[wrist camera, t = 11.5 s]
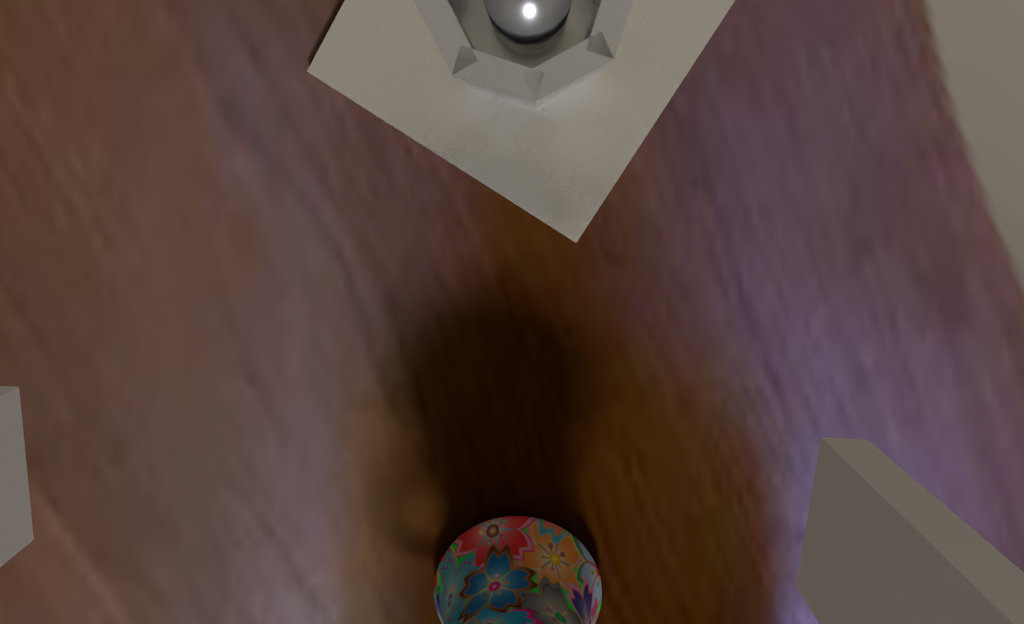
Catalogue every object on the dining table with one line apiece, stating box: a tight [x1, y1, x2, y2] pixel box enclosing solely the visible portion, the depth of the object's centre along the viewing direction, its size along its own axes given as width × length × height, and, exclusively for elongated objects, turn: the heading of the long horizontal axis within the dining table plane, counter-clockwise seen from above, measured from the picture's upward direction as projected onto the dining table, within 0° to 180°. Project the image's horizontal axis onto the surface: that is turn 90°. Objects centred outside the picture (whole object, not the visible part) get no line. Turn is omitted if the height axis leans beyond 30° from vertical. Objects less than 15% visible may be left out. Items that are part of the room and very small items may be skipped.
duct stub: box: [307, 0, 735, 243], centre depth 28 cm, size 14×14×7 cm
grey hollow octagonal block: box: [414, 0, 633, 110], centre depth 27 cm, size 7×7×7 cm
